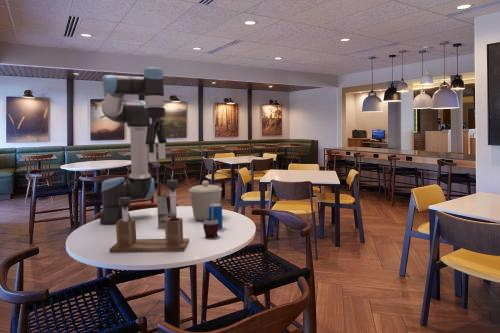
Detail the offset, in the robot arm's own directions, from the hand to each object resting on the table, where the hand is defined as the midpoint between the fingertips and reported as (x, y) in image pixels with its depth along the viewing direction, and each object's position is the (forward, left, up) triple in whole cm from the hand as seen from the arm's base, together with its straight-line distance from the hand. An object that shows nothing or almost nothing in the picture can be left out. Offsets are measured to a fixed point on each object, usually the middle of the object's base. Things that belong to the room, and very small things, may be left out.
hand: (157, 160), depth 142 cm
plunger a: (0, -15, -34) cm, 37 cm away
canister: (-45, +13, -37) cm, 60 cm away
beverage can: (-25, +20, -37) cm, 49 cm away
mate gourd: (-13, +19, -37) cm, 44 cm away
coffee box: (-31, -5, -37) cm, 49 cm away
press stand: (0, -5, -37) cm, 37 cm away
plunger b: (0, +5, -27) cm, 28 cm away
